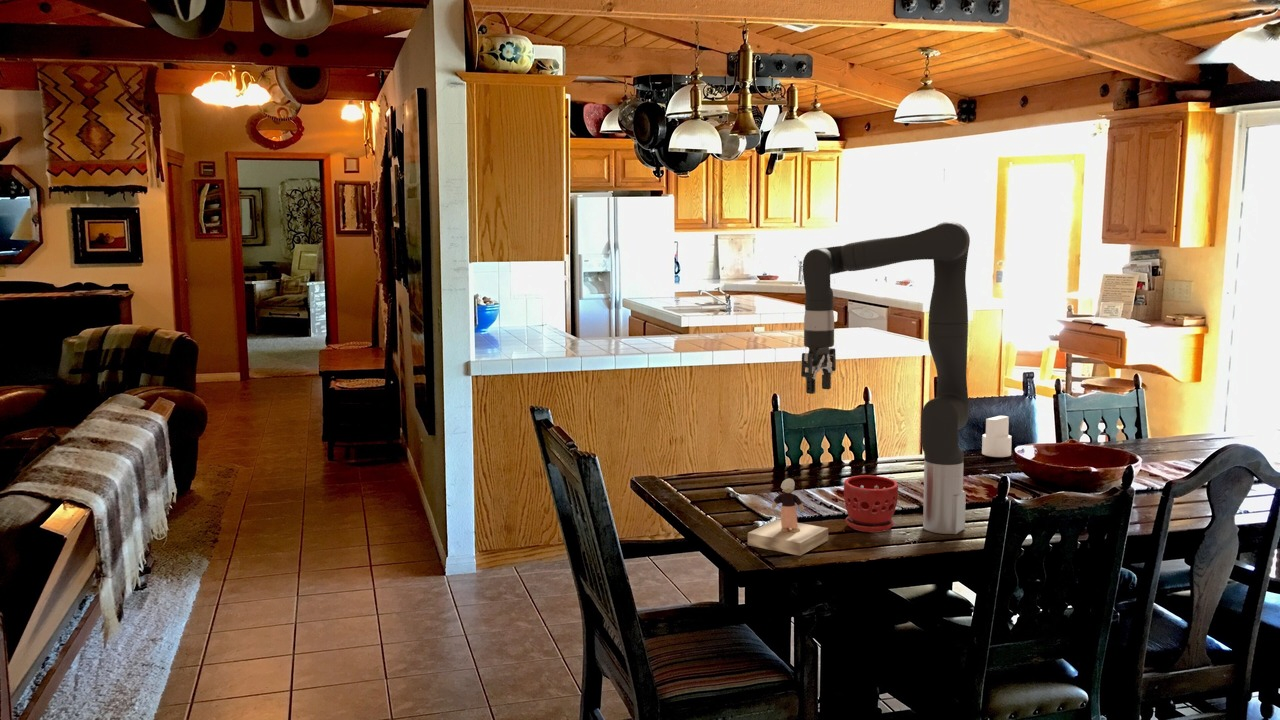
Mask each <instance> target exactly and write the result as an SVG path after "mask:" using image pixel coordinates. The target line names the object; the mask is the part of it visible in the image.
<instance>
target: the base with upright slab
mask: <svg viewBox="0 0 1280 720" xmlns="http://www.w3.org/2000/svg"><path fill="white" fill-rule="evenodd" d="M1009 418H1010V416H1007V415H996V416H993V417H989V418H986V419H985V433H984V434H982V437H981V442H982V443H981V445H982V446H981V454H982V455H984V456H986V457H991V458H992V457H993V458H1005V457H1006V458H1007V457H1011V456H1012V435H1010V434H1009V422H1010V419H1009Z"/></svg>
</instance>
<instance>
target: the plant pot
mask: <svg viewBox="0 0 1280 720" xmlns="http://www.w3.org/2000/svg"><path fill="white" fill-rule="evenodd" d="M862 486H863V487H862ZM875 487H877V488H875ZM898 497H899V483H898V482H897V481H896V480H894V479H892V478H889V477H886V476H879V475H871V474H869V475H867V474H863V475H862V474H860V475H854V476H850V477H847V478H845V480H844V482H843V499H844V505H845V510H846V512H847V515H848V516H847V517H846V518H845V522H846V524H847V525H848V526H849V528H851V529H852V530H856V531H859V532H863V533H882V532H886V531H888V530H890V529H892V528H893V526H894V520H893V519H892V518H893V515H894V514H895V510H896V508H897V503H898Z"/></svg>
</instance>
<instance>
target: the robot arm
mask: <svg viewBox="0 0 1280 720" xmlns="http://www.w3.org/2000/svg"><path fill="white" fill-rule="evenodd" d="M970 237H971V236H970V234H969V231H968V230H967V229H966V227H965V226H963V225H962V224H961V223H959V222H955V221H943V222H941V223H938V224H937V225H934V226H933V227H930V228H927V229H924V230H921V231H918V232H914V233H909V234H905V235H900V236H899V235H898V236H892V237H883V238H872V239H868V240H861V241H860V240H859V241H855V242H850V243H846V244H844V245H838V246H829V247H821V248H813V249H810V250H809V251H808V252H807V253H806V254H805V255H804V257H803V260H802V277H803V285H804V289H805V290H804V291H805V297H804V306H805V307H804V317H803V346H804V347H806V348H808V352H807V353H806V352H805V353H804V352H802V354H801V370H800V371H801V372H800V377H802V378H804V379H806V380H805V385H806V386H805V389H806V390H805V392H806V394H810V395H813V394H816V376H817V375H818V373H819V372H820V371H821V373H822V374H821V388H822V390H830V389H832V387H831V386H832V375H833V372H836V370H837V368H836V367H837V366H836V365H837V361H836V360H837V359H836V348H833V347H834V345H835V315H834V291H833V288H832V287H831V275H836V274H840V273H845V272H858V271H862V270H863V271H864V270H869V269H877V268H882V267H886V266H889V265H890V266H891V265H893V264H894V265H895V264H899V263H903V262H910V261H917V260H918V261H922V260H933V272H934V273H933V277H934V279H933V286H932V293H931V298H930V303H929V311H928V319H927V320H928V328H927V329H928V330H927V331H928V332H927V334H928V335H927V336H928V341H927V342H928V346H929V350H930V353H931V356H932V360H933V364H934V365H935V369H936V374H937V375H936V377H937V379H936V381H937V383H936V384H937V386H936V397H934V398H932V399H930V400H928V401H927V402H926V403H925V404H924V405H923V407H922V408H923V409H922V411H921V416H920V419H921V420H920V428H921V429H920V433H921V435H920V436H921V440H920V441H921V448H922V451H923V454H924V461H923V462H924V464H923V465H924V466H923V467H924V468H923V469H924V470H923V512H922V513H923V516H922V517H923V518H922V522H923V524H922V528H923V529H924V530H925V531H927V532H931V533H935V534H944V535H948V534H949V535H957V534H958V533H961V532H962V531H964V529H965V528H966V499H967V498H966V494H967V492H966V490H964V459H965V458H964V457H965V455H964V450H963V449H962V448H960V445H959V430H962V429H963V428H964V426H965V425H966V424H967V422H968V421H969V418H970V417H969V416H970V404H969V403H970V402H969V391H968V382H967V381H968V380H967V367H968V340H969V339H968V336H969V316H968V315H969V314H968V313H969V310H968V297H967V296H968V295H967V286H966V284H967V283H966V274H967V273H966V272H967V265H968V255H969V250H970V249H969V248H970V244H971V243H970V242H971V240H970Z"/></svg>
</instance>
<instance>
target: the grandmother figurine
mask: <svg viewBox="0 0 1280 720" xmlns="http://www.w3.org/2000/svg"><path fill="white" fill-rule="evenodd" d="M795 484H796V483H795V481H794V479H793V478H790V477H789V478H786V479H784V480H783V481H782V483H781V485H780V488H781V489H782V490H783V492H784V493H781V494H779V495H777V496H776V497H775V498H774V499H773V503H772V504H771V508H772V509H776V508H777V506H778V505H779V504H781V506H780V507H781V508H780V520H781V526H782V529H781V531H782V532H788V531H789V530H790V529H789V528H792V529H791V531H790V532H792V533H796V532H799V531H800V529H799V528H798V527H797V523H798V514H797V507H798V508H799V511H800V512H804V511H805V508H804V505H803V502H802V501H801V499H800V497H799V496H798V495H796V494H795V493H793V492H794V491H795V486H796V485H795ZM796 505H797V507H796Z"/></svg>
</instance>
